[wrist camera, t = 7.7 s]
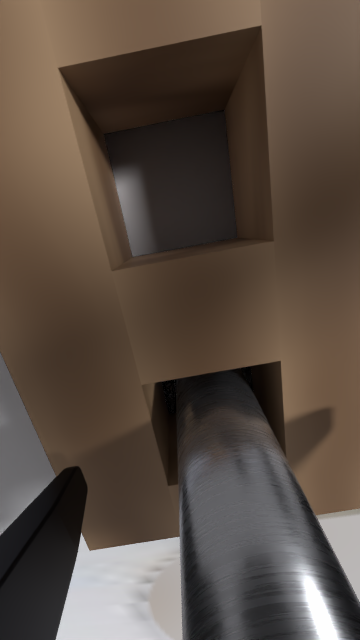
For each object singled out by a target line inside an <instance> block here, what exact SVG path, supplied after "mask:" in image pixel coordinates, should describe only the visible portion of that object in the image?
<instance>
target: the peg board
mask: <svg viewBox="0 0 360 640" xmlns="http://www.w3.org/2000/svg"><path fill="white" fill-rule="evenodd" d="M221 110H225V119H226V129H227V139H228V149H229V159H230V169H231V179H232V189H233V199H234V208H235V218H236V228H237V238H233V239H227V240H222V241H217V242H211V243H206V244H201V245H195V246H190V247H185V248H179V249H174V250H169V251H163V252H158V253H153V254H147V255H142V256H137V257H132V253H131V249H130V245H129V240H128V236H127V232H126V227H125V223H124V219H123V215H122V210H121V206H120V202H119V197H118V193H117V189H116V185H115V180H114V176H113V172H112V167H111V163H110V159H109V155H108V150H107V146H106V142H105V137H104V134H106V133H111V132H116V131H121V130H126V129H131V128H136V127H141V126H146V125H151V124H156V123H161V122H166V121H171V120H176V119H181V118H186V117H191V116H196V115H201V114H206V113H211V112H216V111H221ZM0 352H1V355H2V357H3V359H4V361H5V363H6V366H7V368H8V370H9V372H10V375H11V377H12V379H13V381H14V383H15V386H16V388H17V390H18V392H19V395H20V397H21V399H22V401H23V403H24V406H25V408H26V410H27V412H28V415H29V417H30V419H31V421H32V423H33V426H34V428H35V430H36V432H37V435H38V437H39V439H40V441H41V444H42V446H43V448H44V450H45V452H46V455H47V457H48V459H49V461H50V464H51V466H52V468H53V470H54V472H55V475H56V477H57V476H58V474H59V473H60V472H61V471H62V470H63V469H65V468H67V467H72V466H79V467H80V468H81V470H82V473H83V475H84V478H85V480H86V483H87V487H88V493H87V500H86V506H85V512H84V518H83V524H82V530H81V533H82V535H83V537H84V539H85V541H86V544H87V546H88V548H89V550H90V551H91V550H97V549H103V548H110V547H116V546H122V545H129V544H135V543H142V542H148V541H154V540H161V539H167V538H173V537H180V525H179V490H178V455H177V419H176V413H172V414H169V412H168V407H167V403H166V399H165V395H164V390H163V386H162V382H161V381H167V380H173V379H178V378H184V377H190V376H196V375H201V374H207V373H213V372H219V371H224V370H230V369H236V368H242V367H247V366H250V367H251V377H252V387H253V393H254V395H255V397H256V399H257V401H258V403H259V405H260V407H261V409H262V411H263V413H264V415H265V417H266V419H267V421H268V423H269V425H270V427H271V429H272V431H273V433H274V435H275V437H276V438H277V440H278V442H279V444H280V446H281V448H282V450H283V452H284V454H285V456H286V458H287V460H288V462H289V464H290V466H291V468H292V470H293V472H294V474H295V476H296V478H297V480H298V482H299V484H300V486H301V488H302V490H303V492H304V494H305V496H306V498H307V499H308V501H309V503H310V505H311V507H312V509H313V511H314V513H315V515H320V514H327V513H333V512H339V511H346V510H352V509H359V508H360V0H0Z"/></svg>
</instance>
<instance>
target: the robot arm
mask: <svg viewBox="0 0 360 640" xmlns="http://www.w3.org/2000/svg"><path fill="white" fill-rule="evenodd" d="M87 493H88V487H87V483H86V480H85V478H84V475H83V473H82V470H81V468H80V467H79V466H72V467H67V468H65V469H63V470H62V471H61V472H60V473H59V474H58V476H57V477H56V478H55V479H54V480H53V481H52V482H51V483H50V484H49V485H48V486H47V487H46V488H45V489H44V490H43V491H42V492H41V493H40V494H39V495H38V497H37V498H36V499H35V500H34V501H33V502H32V503H31V504H30V505H29V506H28V507H27V508H26V509H25V510H24V511H23V512H22V513H21V514H20V515H19V516H18V518H17V519H16V520H15V521H14V522H13V523H12V524H11V525H10V526H9V527H8V528H7V529H6V530H5V531H4V532H3V533H2V534H1V535H0V640H56V636H57V632H58V628H59V624H60V620H61V616H62V612H63V608H64V604H65V601H66V597H67V593H68V589H69V585H70V581H71V577H72V573H73V569H74V565H75V561H76V557H77V553H78V547H79V542H80V536H81V530H82V524H83V518H84V512H85V506H86V500H87Z"/></svg>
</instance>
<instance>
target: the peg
mask: <svg viewBox="0 0 360 640" xmlns="http://www.w3.org/2000/svg"><path fill="white" fill-rule="evenodd" d="M175 384H176V419H177V455H178V490H179V525H180V561H181V595H182V627H183V628H182V630H183V640H360V602H359V600H358V598H357V596H356V594H355V592H354V590H353V588H352V586H351V584H350V582H349V580H348V578H347V576H346V575H345V573H344V570H343V568H342V566H341V565H340V562H339V561H338V559H337V557H336V555H335V553H334V551H333V549H332V547H331V545H330V543H329V541H328V539H327V537H326V535H325V533H324V531H323V529H322V527H321V525H320V523H319V521H318V519H317V517H316V515H315V513H314V511H313V509H312V507H311V505H310V503H309V501H308V499H307V498H306V496H305V494H304V492H303V490H302V488H301V486H300V484H299V482H298V480H297V478H296V476H295V474H294V472H293V470H292V468H291V466H290V464H289V462H288V460H287V458H286V456H285V454H284V452H283V450H282V448H281V446H280V444H279V442H278V440H277V438H276V437H275V435H274V433H273V431H272V429H271V427H270V425H269V423H268V421H267V419H266V417H265V415H264V413H263V411H262V409H261V407H260V405H259V403H258V401H257V399H256V397H255V395H254V393H253V391H252V389H251V387H250V385H249V383H248V381H247V379H246V378H245V376H244V374H243V372H242V370H241V368H236V369H230V370H224V371H219V372H213V373H207V374H201V375H196V376H190V377H184V378H178V379H175Z"/></svg>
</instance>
